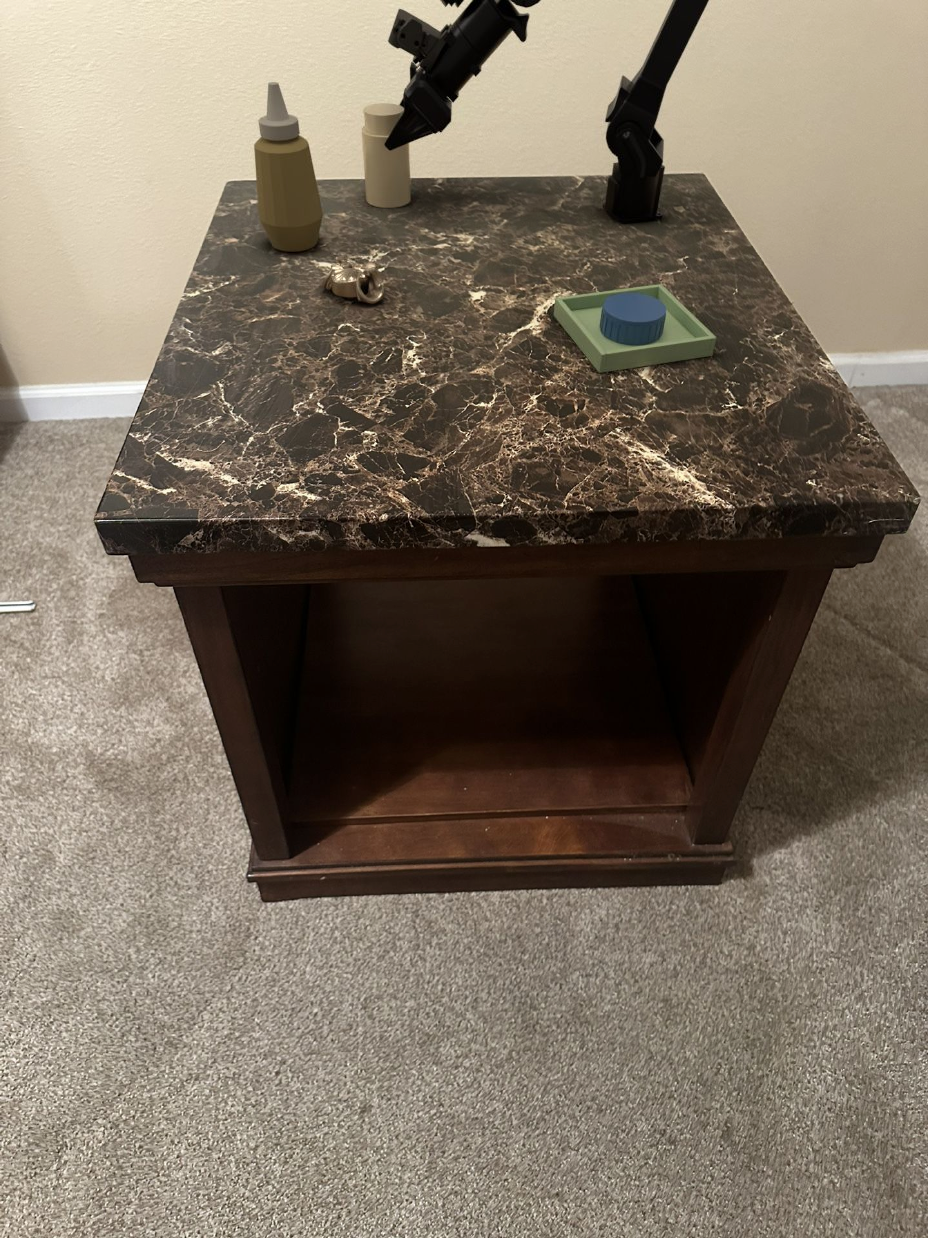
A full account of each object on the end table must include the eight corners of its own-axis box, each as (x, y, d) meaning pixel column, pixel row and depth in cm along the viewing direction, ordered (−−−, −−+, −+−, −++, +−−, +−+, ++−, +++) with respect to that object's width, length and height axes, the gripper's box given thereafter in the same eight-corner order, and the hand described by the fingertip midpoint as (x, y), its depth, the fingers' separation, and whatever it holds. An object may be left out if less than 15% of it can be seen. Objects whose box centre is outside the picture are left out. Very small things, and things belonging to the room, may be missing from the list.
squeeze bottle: (336, 236, 109) (321, 77, 96) (308, 260, 104) (288, 96, 91) (281, 227, 111) (259, 70, 98) (251, 251, 105) (223, 88, 92)
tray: (657, 301, 97) (661, 283, 96) (712, 355, 89) (717, 337, 87) (553, 315, 95) (555, 297, 93) (599, 373, 86) (601, 354, 84)
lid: (595, 341, 89) (599, 317, 87) (603, 312, 94) (606, 289, 92) (660, 349, 88) (664, 325, 86) (664, 319, 93) (668, 296, 91)
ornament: (401, 291, 98) (400, 260, 96) (364, 313, 94) (361, 281, 92) (350, 273, 101) (348, 243, 99) (312, 294, 97) (308, 263, 95)
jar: (404, 189, 121) (401, 100, 113) (415, 205, 117) (413, 114, 108) (362, 193, 120) (355, 103, 111) (371, 209, 115) (365, 117, 107)
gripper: (428, -31, 106) (351, 68, 115) (420, -1, 94) (334, 108, 102) (488, 42, 112) (410, 132, 120) (488, 80, 99) (401, 178, 107)
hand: (389, 136), depth 112 cm, fingers open, 9 cm apart
